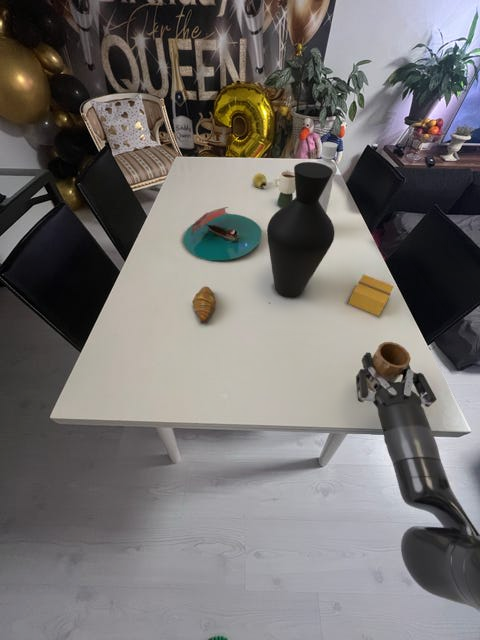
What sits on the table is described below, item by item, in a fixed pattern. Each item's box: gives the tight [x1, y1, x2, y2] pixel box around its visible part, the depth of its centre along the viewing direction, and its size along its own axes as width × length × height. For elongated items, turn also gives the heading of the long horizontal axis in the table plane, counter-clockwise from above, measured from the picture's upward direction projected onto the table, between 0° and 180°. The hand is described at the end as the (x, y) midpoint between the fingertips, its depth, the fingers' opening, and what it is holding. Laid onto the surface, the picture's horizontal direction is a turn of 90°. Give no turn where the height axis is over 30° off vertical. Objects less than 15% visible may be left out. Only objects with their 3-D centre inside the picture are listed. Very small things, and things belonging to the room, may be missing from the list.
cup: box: [367, 341, 412, 393], centre depth 61 cm, size 6×6×10 cm
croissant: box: [191, 286, 217, 324], centre depth 83 cm, size 14×7×5 cm, turn 1°
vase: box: [266, 161, 335, 299], centre depth 78 cm, size 17×17×35 cm
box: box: [348, 273, 395, 317], centre depth 87 cm, size 9×9×5 cm
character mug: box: [273, 170, 296, 209], centre depth 120 cm, size 11×7×13 cm, turn 81°
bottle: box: [315, 141, 338, 213], centre depth 101 cm, size 9×9×30 cm
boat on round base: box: [182, 206, 263, 261], centre depth 104 cm, size 28×28×11 cm
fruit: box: [252, 172, 268, 190], centre depth 134 cm, size 6×6×10 cm
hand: (382, 355), depth 62 cm, fingers closed on cup, 6 cm apart
